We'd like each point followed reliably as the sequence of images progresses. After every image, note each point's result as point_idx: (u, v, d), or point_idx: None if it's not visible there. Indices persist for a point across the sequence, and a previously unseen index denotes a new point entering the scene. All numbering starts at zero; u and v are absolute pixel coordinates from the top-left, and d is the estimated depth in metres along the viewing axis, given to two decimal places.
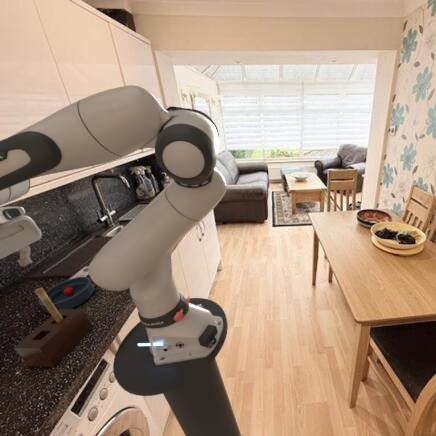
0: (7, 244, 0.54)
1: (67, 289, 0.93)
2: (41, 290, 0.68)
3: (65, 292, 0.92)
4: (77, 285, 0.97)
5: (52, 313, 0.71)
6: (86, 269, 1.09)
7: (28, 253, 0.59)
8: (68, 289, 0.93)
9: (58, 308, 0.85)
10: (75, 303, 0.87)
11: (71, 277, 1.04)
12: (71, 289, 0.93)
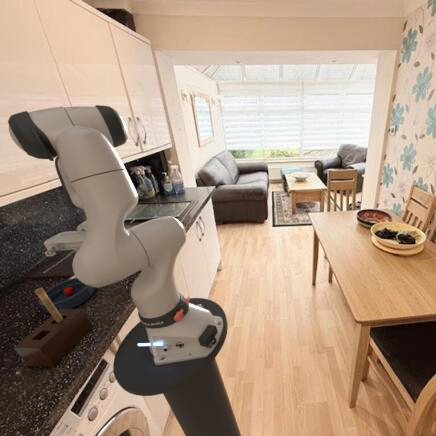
0: (85, 236, 0.81)
1: (67, 289, 0.93)
2: (41, 290, 0.68)
3: (65, 292, 0.92)
4: (77, 285, 0.97)
5: (52, 313, 0.71)
6: None
7: None
8: (68, 289, 0.93)
9: (58, 308, 0.85)
10: (75, 303, 0.87)
11: (71, 277, 1.04)
12: (71, 289, 0.93)
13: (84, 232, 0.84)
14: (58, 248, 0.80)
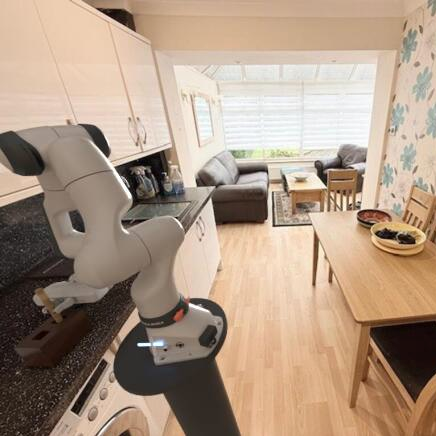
0: (75, 290, 0.76)
1: None
2: (41, 290, 0.68)
3: None
4: None
5: (52, 313, 0.71)
6: None
7: (63, 302, 0.72)
8: None
9: None
10: None
11: None
12: None
13: (76, 284, 0.79)
14: (57, 302, 0.75)
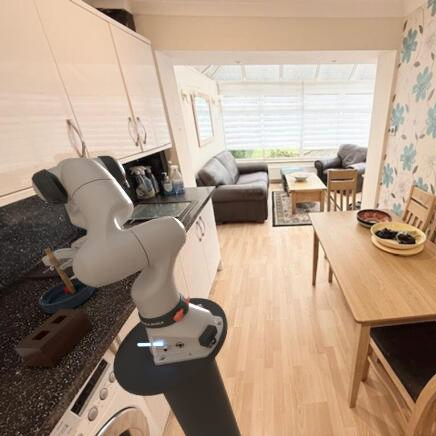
0: None
1: None
2: (49, 250, 0.85)
3: (66, 287, 0.94)
4: (77, 285, 0.97)
5: (58, 270, 0.88)
6: None
7: (67, 261, 0.90)
8: None
9: (58, 308, 0.85)
10: (75, 303, 0.87)
11: (71, 277, 1.04)
12: None
13: (77, 249, 0.96)
14: (62, 263, 0.92)
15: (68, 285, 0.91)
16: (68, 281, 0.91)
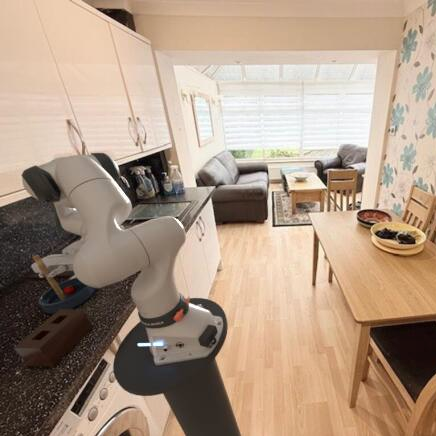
0: (67, 259, 0.90)
1: (68, 287, 0.93)
2: (38, 256, 0.82)
3: (65, 289, 0.93)
4: (77, 285, 0.97)
5: (47, 277, 0.85)
6: None
7: (57, 268, 0.86)
8: (69, 287, 0.94)
9: (58, 308, 0.85)
10: (75, 303, 0.87)
11: (71, 277, 1.04)
12: (72, 287, 0.94)
13: (68, 255, 0.93)
14: (51, 270, 0.88)
15: (58, 293, 0.88)
16: (58, 289, 0.88)
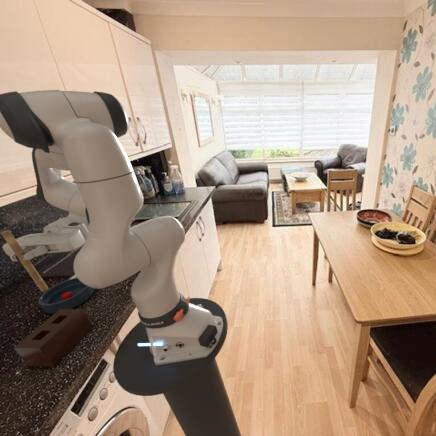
0: (48, 239, 0.71)
1: None
2: (8, 232, 0.63)
3: None
4: (77, 285, 0.97)
5: (21, 260, 0.66)
6: None
7: (34, 249, 0.67)
8: None
9: (58, 308, 0.85)
10: (75, 303, 0.87)
11: (71, 277, 1.04)
12: None
13: (50, 234, 0.74)
14: (28, 251, 0.69)
15: (37, 281, 0.69)
16: (37, 275, 0.69)
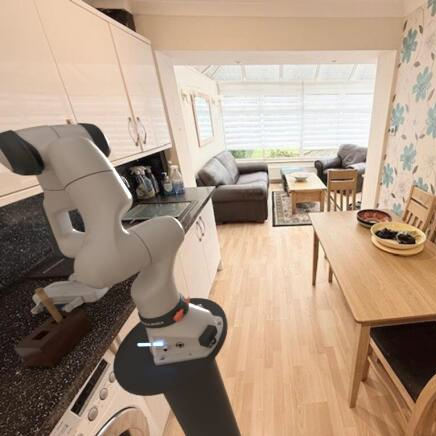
0: (75, 289, 0.76)
1: None
2: (41, 290, 0.68)
3: None
4: None
5: (52, 313, 0.71)
6: None
7: (73, 301, 0.72)
8: None
9: (58, 308, 0.85)
10: None
11: None
12: None
13: (75, 283, 0.79)
14: None
15: None
16: None
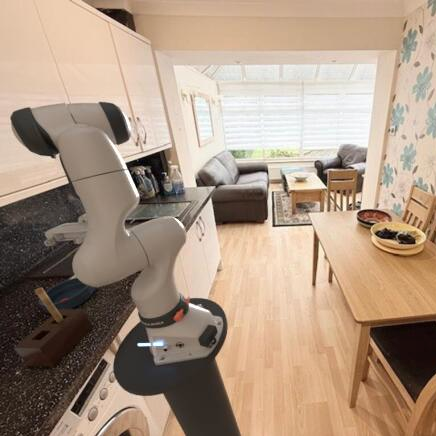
0: (84, 227, 0.81)
1: None
2: (41, 290, 0.68)
3: None
4: (77, 285, 0.97)
5: (52, 313, 0.71)
6: None
7: (83, 235, 0.77)
8: (66, 298, 0.88)
9: (58, 308, 0.85)
10: (75, 303, 0.87)
11: (71, 277, 1.04)
12: None
13: (84, 223, 0.84)
14: (58, 238, 0.79)
15: None
16: None
